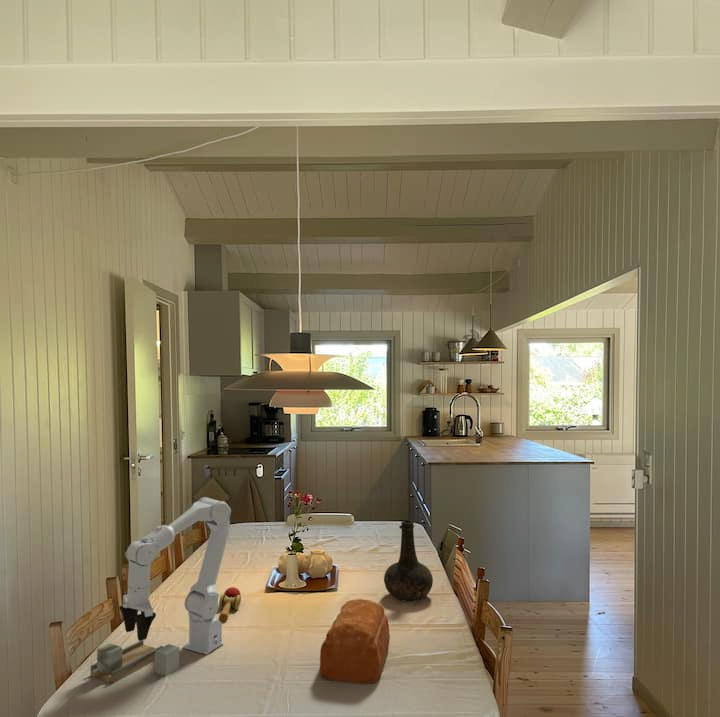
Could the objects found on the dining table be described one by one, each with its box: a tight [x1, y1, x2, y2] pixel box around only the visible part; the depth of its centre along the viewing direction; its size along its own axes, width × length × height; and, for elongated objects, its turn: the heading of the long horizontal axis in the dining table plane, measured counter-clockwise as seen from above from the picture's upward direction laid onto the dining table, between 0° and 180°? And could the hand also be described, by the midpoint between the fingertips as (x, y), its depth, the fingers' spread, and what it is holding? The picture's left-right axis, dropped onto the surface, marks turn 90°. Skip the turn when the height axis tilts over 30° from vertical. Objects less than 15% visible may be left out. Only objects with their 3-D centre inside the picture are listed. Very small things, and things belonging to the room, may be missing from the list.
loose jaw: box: [154, 643, 180, 677], centre depth 173 cm, size 5×4×6 cm
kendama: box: [218, 586, 242, 623], centre depth 215 cm, size 8×6×18 cm
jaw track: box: [89, 640, 164, 684], centre depth 176 cm, size 9×18×8 cm, turn 152°
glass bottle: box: [383, 519, 434, 602], centre depth 228 cm, size 18×18×28 cm
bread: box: [319, 598, 391, 684], centre depth 179 cm, size 17×24×15 cm
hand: (136, 635), depth 172 cm, fingers open, 7 cm apart
